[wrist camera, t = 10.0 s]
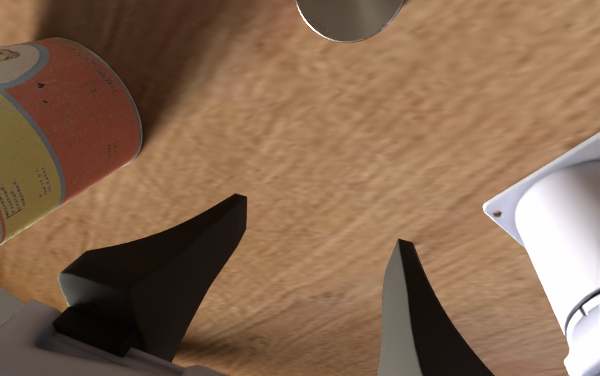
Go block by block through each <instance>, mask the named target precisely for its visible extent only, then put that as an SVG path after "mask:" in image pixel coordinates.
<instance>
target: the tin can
mask: <svg viewBox="0 0 600 376" xmlns="http://www.w3.org/2000/svg"><path fill="white" fill-rule="evenodd" d="M295 2H296V5H297V7H298V10H299V12H300V14H301V15H302V17H303V19H304V20H305V21H306V23H307V24H308V25H309V26H310V27H311V28H312V29H313V30H314V31H315V32H316V33H318V34H319V35H321V36H322V37H324V38H326V39H329V40H331V41H335V42H340V43H354V42H359V41H362V40H365V39H368V38H370V37H372V36H374V35H376V34H377V33H379V32H380V31H381V30H383V29H384V28H385V27H386V26H387V25H388V24H389V23H390V22H391V21H392V20H393V19H394V17H395V16H396V15H397V13H398V12H399V11H400V9H401V7H402V6H403V4H404V2H405V0H295Z"/></svg>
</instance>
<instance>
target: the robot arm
mask: <svg viewBox="0 0 600 376" xmlns="http://www.w3.org/2000/svg"><path fill="white" fill-rule="evenodd" d="M483 210H484V212H485V213H486V214H487V215H488V216H489V217H490V218H492V219H493V220H494V221H495V222H496V223H497V224H498V225H500V226H501V227H502V228H503V229H504V230H505V231H506V232H508V233H509V234H510V235H511V236H512V237H513V238H515V239H516V240H517V241H518V242H519V243H520V244H521V245H523V246H524V247H525V248H526V249H527V252H528V254H529V256H530V258H531V261H532V263H533V265H534V267H535V270H536V272H537V274H538V276H539V279H540V281H541V283H542V285H543V288H544V290H545V292H546V294H547V297H548V299H549V301H550V303H551V306H552V308H553V310H554V312H555V315H556V317H557V319H558V321H559V324H560V326H561V328H562V331H563V333H564V335H565V337H566V339H567V341H568V344H569V348H570V352H569V355H568V357H567V358H566V359H565V360H564V364H565V366H566V368H567V371H568V373H569V376H600V132H599V133H597V134H595V135H594V136H592V137H591V138H589V139H587V140H586V141H584V142H583V143H581V144H579V145H578V146H576V147H574V148H573V149H571V150H570V151H568V152H566V153H565V154H563V155H561V156H560V157H558V158H557V159H555V160H553V161H552V162H550V163H549V164H547V165H545V166H544V167H542V168H540V169H539V170H537V171H536V172H534V173H532V174H531V175H529V176H528V177H526V178H524V179H523V180H521V181H519V182H518V183H516V184H515V185H513V186H511V187H510V188H508V189H506V190H505V191H503V192H502V193H500V194H498V195H497V196H495V197H494V198H492V199H490V200H489V201H487V202H486V203H485V204H484V205H483ZM495 211H501V212H500V213H498V214H494V212H495ZM246 220H247V197H246V196H243V195H239V194H234V195H232V196H230V197H229V198H227V199H225V200H224V201H222V202H220V203H219V204H217V205H215V206H213V207H212V208H210V209H208V210H207V211H205V212H203V213H201V214H199V215H197V216H196V217H194V218H192V219H190V220H188V221H186V222H184V223H182V224H179V225H177V226H175V227H172V228H170V229H168V230H165V231H163V232H160V233H157V234H154V235H151V236H148V237H145V238H142V239H139V240H135V241H131V242H128V243H124V244H120V245H115V246H111V247H105V248H100V249H95V250H89V251H86V252H85V253H83V254H82V255H81V256H80V257H79V258H77V259H76V260H75V261H74V262H73V263H71V264H70V265H69V266H68V267H67V268H65V269H64V270H63V271H62V272H61V273H60V274H59V275H58V284H59V287H60V289H61V291H62V293H63V295H64V297H65V299H66V301H67V303H68V305H69V307H68V308H67V309H66V310H65V311H64V312H63V313H62V312H61V311H59V310H58V309H56V308H54V307H52V306H50V305H47V304H44V303H42V302H39V301H36V300H30V301H29V302H28V303H26V304H25V305H24V306H23V307H22V308H20V309H19V310H18V311H17V312H16V313H15V314H13V315H12V316H11V317H10V318H9V319H7V320H6V321H5V322H4V323H3V324H1V325H0V376H229V375H227V374H224V373H221V372H219V371H216V370H213V369H211V368H208V367H204V366H200V365H194V366H189V367H186V368H184V367H181V366H179V365H176V364H173V363H172V360H173V358H174V356H175V354H176V352H177V350H178V347H179V345H180V343H181V341H182V339H183V337H184V335H185V333H186V331H187V329H188V327H189V325H190V323H191V321H192V319H193V317H194V315H195V313H196V311H197V309H198V307H199V305H200V304H201V302H202V300H203V298H204V296H205V294H206V293H207V291H208V289H209V287H210V286H211V284H212V282H213V281H214V279H215V278H216V277H217V275H218V274H219V272H220V271H221V269H222V268H223V266H224V265H225V264H226V262H227V261H228V259H229V258H230V256H231V255H232V253H233V252H234V250H235V249H236V247H237V246H238V244H239V242H240V240H241V238H242V236H243V234H244V232H245V230H246ZM378 376H495V375H494V374H493V373H492V372H491V371H490V370H489V369H488V368H487V367H486V366H485V364H484V363H483V362H482V361H481V360H480V359H479V357H478V356H477V355H476V354H475V353H474V352H473V350H472V349H471V348H470V347H469V345H468V344H467V343H466V341H465V340H464V339H463V337H462V336H461V335H460V333H459V332H458V331H457V329H456V328H455V326H454V325H453V323H452V322H451V320H450V319H449V317H448V316H447V314H446V312H445V311H444V309H443V307H442V306H441V304H440V302H439V300H438V299H437V297H436V295H435V293H434V291H433V289H432V287H431V285H430V283H429V281H428V279H427V276H426V274H425V272H424V270H423V267H422V265H421V263H420V260H419V258H418V255H417V252H416V249H415V247H414V244H413V243H412V242H409V241H405V240H402V239H398V241H397V243H396V246H395V248H394V250H393V253H392V255H391V258H390V260H389V263H388V265H387V268H386V271H385V277H384V284H383V299H382V342H381V353H380V361H379V369H378Z"/></svg>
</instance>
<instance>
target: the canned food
mask: <svg viewBox="0 0 600 376" xmlns="http://www.w3.org/2000/svg"><path fill="white" fill-rule="evenodd" d="M142 138H143V132H142V124H141V119H140V115H139V112H138V109H137V107H136V104H135V102H134V100H133V98H132V96H131V94H130V92H129V91H128V89H127V87H126V86H125V84H124V83H123V81H122V80H121V79H120V77H119V76H118V75H117V74H116V73H115V71H114V70H113V69H112V68H111V67H110V66H109V65H108V64H107V63H106V62H105V61H104V60H103V59H102V58H100V57H99V56H98V55H97V54H95V53H94V52H93V51H91V50H90V49H88V48H86V47H85V46H83V45H81V44H79V43H77V42H75V41H72V40H69V39H65V38H59V37H50V38H44V39H41V40H38V41H34V42H28V43H21V44H15V45H9V46H2V47H0V245H2V244H3V243H5V242H6V241H8V240H9V239H11V238H12V237H14V236H15V235H17V234H19V233H20V232H22V231H23V230H25V229H26V228H28V227H29V226H31V225H33V224H34V223H36V222H37V221H39V220H40V219H42V218H43V217H45V216H46V215H48V214H50V213H51V212H53V211H54V210H56V209H57V208H59V207H60V206H62V205H64V204H65V203H67V202H68V201H70V200H71V199H73V198H74V197H76V196H78V195H79V194H81V193H82V192H84V191H85V190H87V189H88V188H90V187H91V186H93V185H95V184H96V183H98V182H99V181H101V180H102V179H104V178H105V177H107V176H109V175H110V174H112V173H113V172H115V171H116V170H118V169H119V168H121V167H124V166H126V165H128V164H129V163H131V162H132V161H133V160H134V159H135V158H136V157H137V155H138V154H139V151H140V149H141V145H142Z"/></svg>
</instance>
